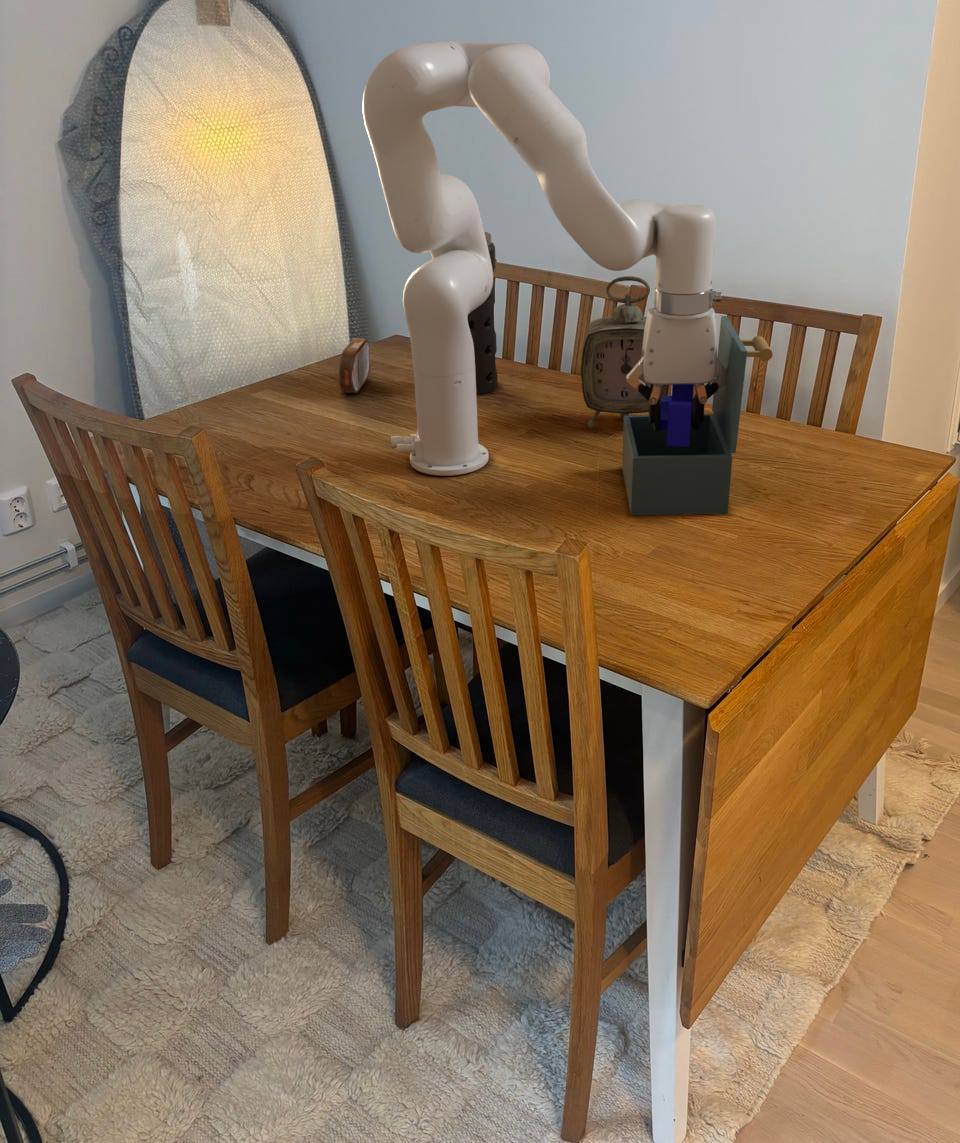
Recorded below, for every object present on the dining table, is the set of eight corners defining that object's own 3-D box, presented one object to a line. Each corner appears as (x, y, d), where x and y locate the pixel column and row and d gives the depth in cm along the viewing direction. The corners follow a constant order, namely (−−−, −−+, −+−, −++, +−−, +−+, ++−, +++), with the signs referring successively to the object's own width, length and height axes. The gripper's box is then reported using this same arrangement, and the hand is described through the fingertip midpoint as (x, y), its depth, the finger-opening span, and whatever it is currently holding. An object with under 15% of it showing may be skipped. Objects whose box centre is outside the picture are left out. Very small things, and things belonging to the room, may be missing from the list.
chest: (631, 515, 152) (633, 458, 148) (622, 468, 167) (623, 415, 163) (727, 514, 152) (732, 456, 147) (710, 467, 166) (714, 413, 162)
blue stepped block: (660, 414, 160) (662, 375, 157) (691, 415, 159) (694, 376, 156) (655, 445, 150) (657, 404, 147) (688, 446, 149) (691, 405, 146)
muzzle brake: (443, 396, 198) (499, 395, 198) (434, 241, 185) (494, 239, 185) (445, 380, 207) (499, 378, 206) (437, 230, 193) (494, 228, 193)
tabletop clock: (580, 432, 181) (581, 283, 169) (582, 413, 188) (584, 269, 176) (667, 433, 179) (675, 282, 167) (666, 414, 187) (673, 268, 174)
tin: (359, 373, 212) (355, 331, 208) (374, 373, 212) (370, 331, 208) (339, 400, 199) (335, 355, 195) (356, 400, 199) (351, 356, 195)
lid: (741, 351, 140) (783, 351, 140) (721, 315, 155) (759, 315, 155) (729, 453, 147) (769, 453, 147) (711, 410, 162) (748, 410, 162)
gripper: (740, 292, 149) (730, 416, 157) (617, 295, 149) (614, 419, 158) (750, 307, 142) (739, 436, 151) (621, 310, 143) (617, 438, 152)
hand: (675, 426), depth 154 cm, fingers closed on blue stepped block, 4 cm apart
